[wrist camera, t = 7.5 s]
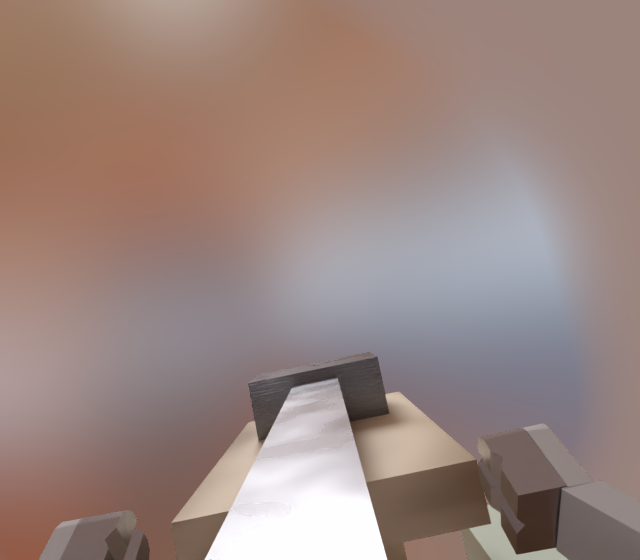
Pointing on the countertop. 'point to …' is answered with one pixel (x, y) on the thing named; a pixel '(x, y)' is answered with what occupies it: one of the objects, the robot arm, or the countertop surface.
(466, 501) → the stand
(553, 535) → the robot arm
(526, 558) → the pale green box
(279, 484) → the hammer
